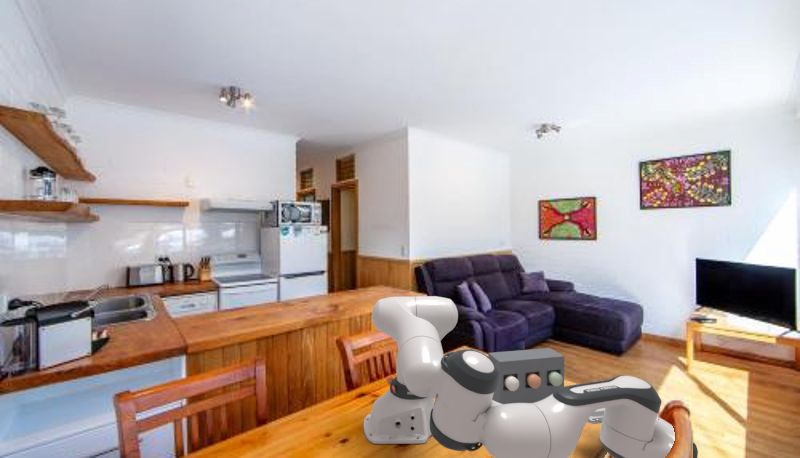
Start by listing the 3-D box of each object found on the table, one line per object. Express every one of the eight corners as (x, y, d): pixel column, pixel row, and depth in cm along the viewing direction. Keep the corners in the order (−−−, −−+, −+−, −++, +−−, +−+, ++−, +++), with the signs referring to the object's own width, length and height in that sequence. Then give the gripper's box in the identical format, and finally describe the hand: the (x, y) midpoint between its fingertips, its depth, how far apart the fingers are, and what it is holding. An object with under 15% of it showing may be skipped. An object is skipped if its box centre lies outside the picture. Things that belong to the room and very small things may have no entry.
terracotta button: (529, 389, 114) (529, 376, 114) (526, 386, 116) (526, 373, 116) (541, 388, 115) (541, 375, 115) (537, 385, 117) (537, 372, 117)
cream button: (507, 391, 112) (507, 378, 112) (504, 388, 114) (504, 376, 114) (519, 390, 113) (519, 377, 113) (515, 387, 115) (516, 374, 115)
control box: (499, 410, 114) (499, 361, 113) (487, 398, 122) (488, 352, 121) (563, 402, 119) (564, 356, 118) (549, 391, 127) (549, 347, 126)
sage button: (551, 386, 116) (551, 374, 116) (547, 384, 118) (547, 371, 117) (562, 385, 116) (562, 373, 116) (558, 383, 118) (558, 370, 118)
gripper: (591, 435, 87) (556, 406, 101) (659, 425, 91) (616, 399, 105) (592, 410, 87) (556, 384, 101) (660, 402, 91) (617, 378, 105)
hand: (587, 392), depth 103 cm, fingers closed
